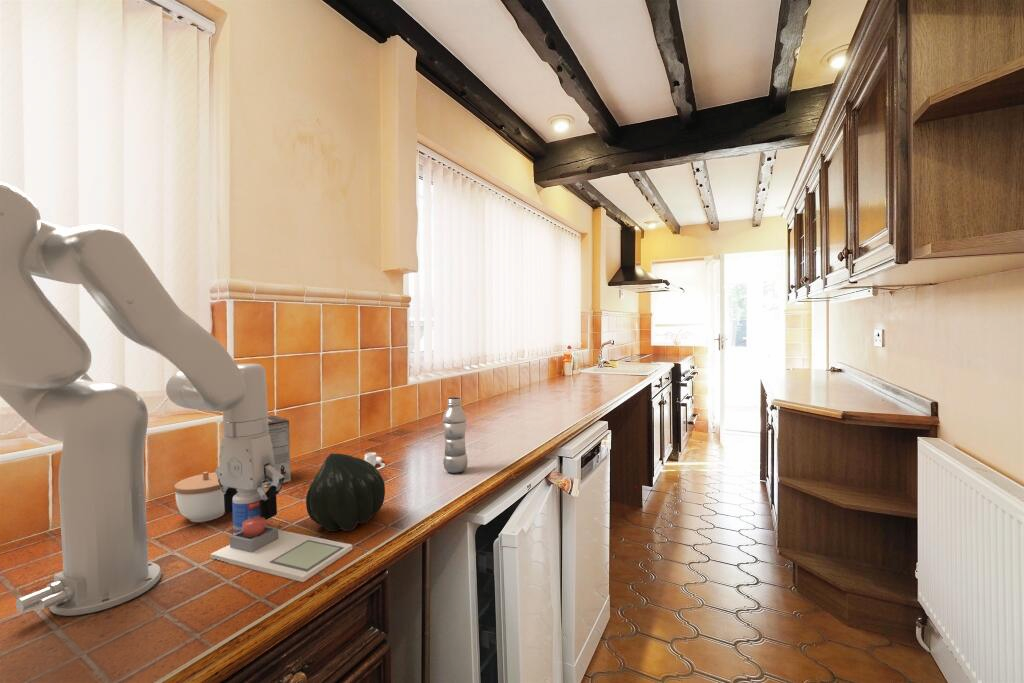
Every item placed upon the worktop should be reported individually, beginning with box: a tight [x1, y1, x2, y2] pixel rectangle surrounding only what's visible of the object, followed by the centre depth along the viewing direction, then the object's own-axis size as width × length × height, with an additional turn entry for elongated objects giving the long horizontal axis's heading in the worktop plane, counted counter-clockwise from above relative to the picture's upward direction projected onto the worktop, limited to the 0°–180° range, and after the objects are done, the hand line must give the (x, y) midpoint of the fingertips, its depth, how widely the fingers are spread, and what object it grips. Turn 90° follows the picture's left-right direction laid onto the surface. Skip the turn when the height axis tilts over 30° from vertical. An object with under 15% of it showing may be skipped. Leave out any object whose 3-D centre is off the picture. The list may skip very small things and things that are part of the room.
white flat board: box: [210, 525, 354, 583], centre depth 79 cm, size 11×21×3 cm, turn 68°
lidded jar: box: [173, 471, 225, 523], centre depth 96 cm, size 11×11×9 cm
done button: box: [242, 517, 267, 537], centre depth 81 cm, size 4×4×2 cm
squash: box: [305, 452, 386, 532], centre depth 91 cm, size 14×15×15 cm
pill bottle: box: [232, 489, 262, 535], centre depth 88 cm, size 6×5×10 cm
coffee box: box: [265, 415, 291, 488], centre depth 117 cm, size 9×6×16 cm
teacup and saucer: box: [363, 452, 386, 471], centre depth 128 cm, size 9×8×4 cm
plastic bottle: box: [442, 396, 469, 474], centre depth 122 cm, size 6×7×20 cm
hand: (250, 514), depth 89 cm, fingers open, 9 cm apart
